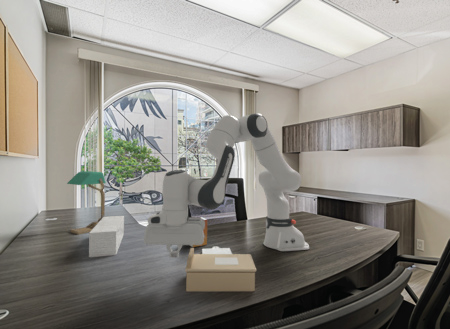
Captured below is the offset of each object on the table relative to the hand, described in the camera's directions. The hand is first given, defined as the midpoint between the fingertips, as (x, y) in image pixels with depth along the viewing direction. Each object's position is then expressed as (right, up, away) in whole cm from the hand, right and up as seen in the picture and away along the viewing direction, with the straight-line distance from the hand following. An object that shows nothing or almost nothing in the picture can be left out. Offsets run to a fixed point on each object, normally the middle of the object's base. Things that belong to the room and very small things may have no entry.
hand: (174, 256), depth 83 cm
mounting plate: (+14, -9, +23) cm, 28 cm away
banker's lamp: (-63, -8, +61) cm, 88 cm away
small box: (+4, -9, +38) cm, 39 cm away
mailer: (+16, -9, +1) cm, 18 cm away
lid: (+16, -2, +1) cm, 16 cm away
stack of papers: (-40, -8, +37) cm, 55 cm away
